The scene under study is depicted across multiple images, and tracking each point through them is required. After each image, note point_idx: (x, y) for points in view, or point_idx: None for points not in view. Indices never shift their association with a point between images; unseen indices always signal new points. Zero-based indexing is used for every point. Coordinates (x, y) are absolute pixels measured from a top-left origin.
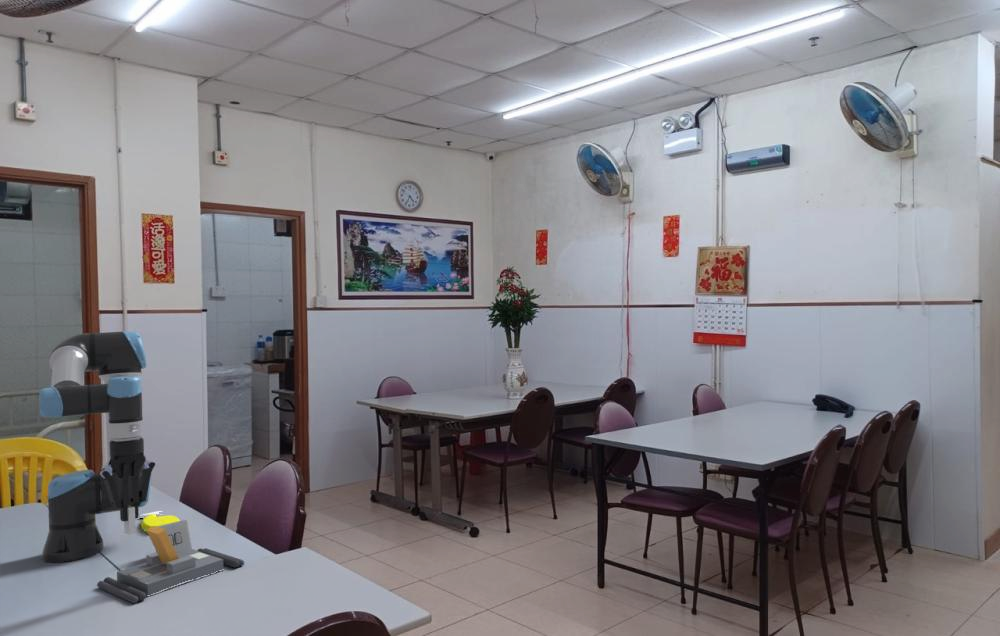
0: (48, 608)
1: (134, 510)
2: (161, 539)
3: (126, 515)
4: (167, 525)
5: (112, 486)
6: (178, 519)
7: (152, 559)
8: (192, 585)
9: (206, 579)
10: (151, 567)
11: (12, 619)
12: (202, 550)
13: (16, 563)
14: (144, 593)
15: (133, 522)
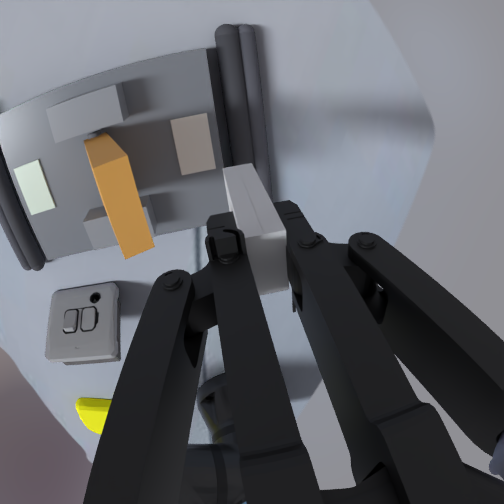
0: (373, 166)
1: (241, 224)
2: (119, 150)
3: (282, 217)
4: (86, 354)
5: (481, 344)
6: (80, 415)
7: (145, 203)
8: (90, 50)
9: (52, 72)
10: (153, 187)
11: (422, 164)
12: (28, 251)
13: (307, 391)
14: (221, 28)
15: (239, 188)
